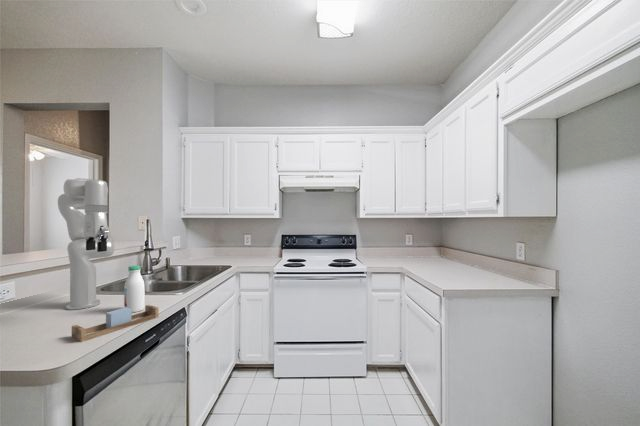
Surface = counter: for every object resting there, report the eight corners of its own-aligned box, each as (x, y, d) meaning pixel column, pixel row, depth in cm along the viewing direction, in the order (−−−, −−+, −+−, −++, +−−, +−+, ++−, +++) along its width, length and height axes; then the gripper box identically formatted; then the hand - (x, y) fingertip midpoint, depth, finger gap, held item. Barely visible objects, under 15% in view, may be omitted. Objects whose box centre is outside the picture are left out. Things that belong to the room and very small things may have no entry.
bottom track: (71, 337, 100) (71, 325, 100) (148, 314, 123) (148, 304, 123) (81, 341, 96) (81, 330, 96) (158, 317, 119) (158, 307, 119)
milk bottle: (148, 307, 131) (148, 264, 131) (138, 313, 124) (138, 267, 124) (131, 307, 131) (131, 264, 131) (120, 313, 123) (120, 267, 123)
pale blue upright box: (106, 328, 107) (105, 312, 107) (126, 322, 113) (126, 307, 113) (111, 330, 105) (111, 314, 105) (131, 324, 111) (131, 309, 111)
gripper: (75, 209, 119) (75, 250, 119) (95, 209, 111) (95, 253, 111) (96, 210, 126) (96, 248, 126) (117, 209, 117) (117, 251, 117)
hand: (96, 250), depth 118 cm, fingers open, 9 cm apart
